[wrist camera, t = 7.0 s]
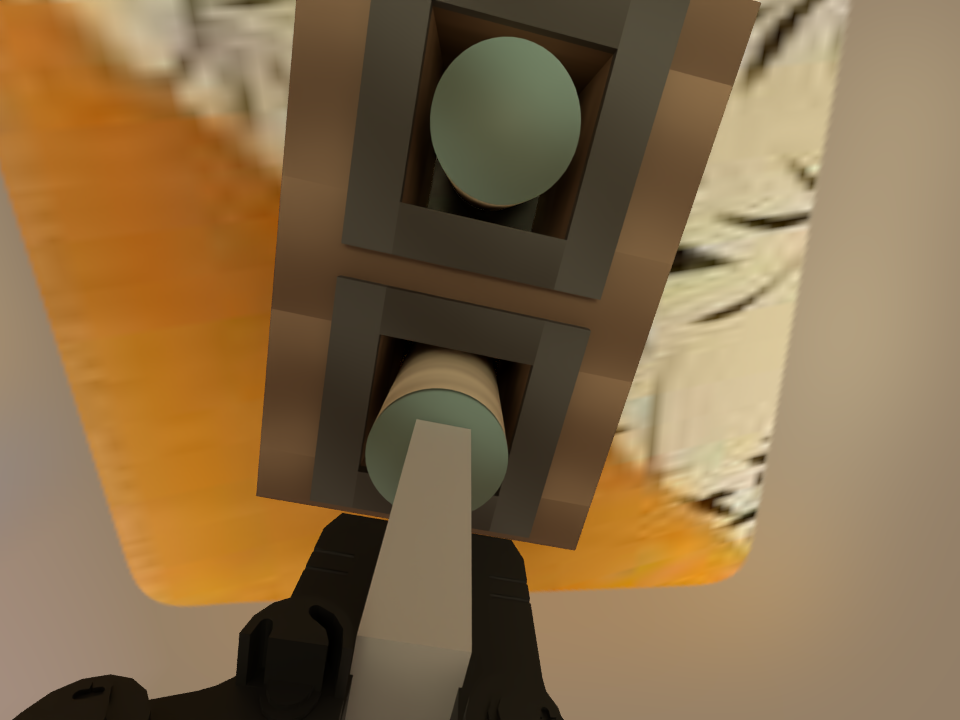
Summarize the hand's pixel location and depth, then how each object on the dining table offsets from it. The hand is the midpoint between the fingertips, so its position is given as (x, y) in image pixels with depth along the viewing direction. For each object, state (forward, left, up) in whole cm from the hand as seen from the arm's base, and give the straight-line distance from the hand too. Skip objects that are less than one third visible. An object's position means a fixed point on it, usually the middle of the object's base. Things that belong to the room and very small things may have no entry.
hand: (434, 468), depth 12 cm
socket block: (-5, 0, -11) cm, 12 cm away
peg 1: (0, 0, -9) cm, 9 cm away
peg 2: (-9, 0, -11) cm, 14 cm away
